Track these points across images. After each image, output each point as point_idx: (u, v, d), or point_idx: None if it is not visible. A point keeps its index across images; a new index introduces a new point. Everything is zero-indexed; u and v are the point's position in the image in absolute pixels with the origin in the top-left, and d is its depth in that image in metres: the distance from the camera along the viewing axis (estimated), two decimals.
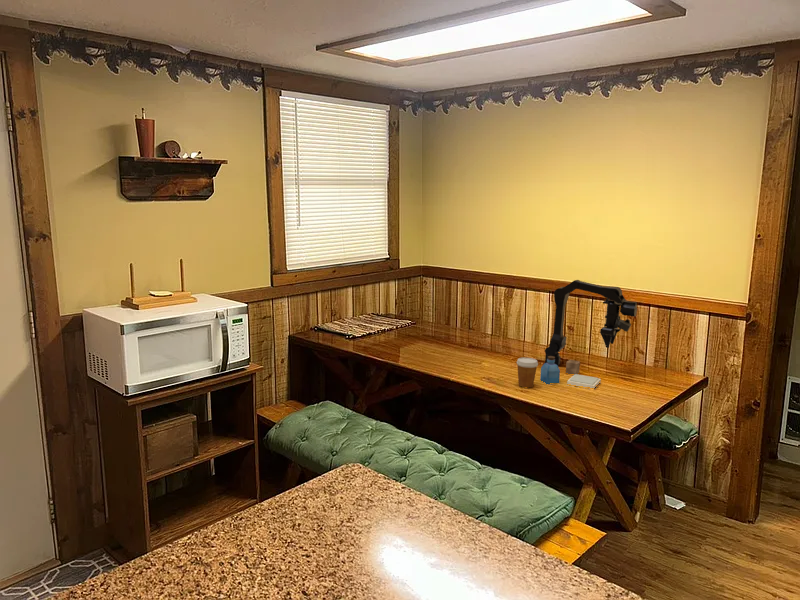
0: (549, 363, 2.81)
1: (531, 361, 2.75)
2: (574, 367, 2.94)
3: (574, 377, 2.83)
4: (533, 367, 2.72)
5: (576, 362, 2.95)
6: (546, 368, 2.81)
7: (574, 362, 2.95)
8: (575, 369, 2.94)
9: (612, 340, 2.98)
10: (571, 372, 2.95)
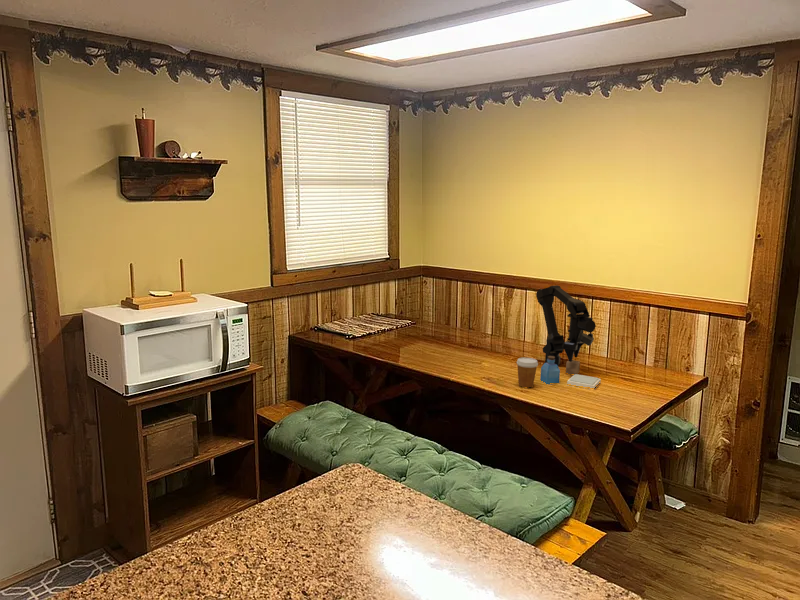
0: (549, 363, 2.81)
1: (531, 361, 2.75)
2: (574, 367, 2.94)
3: (574, 377, 2.83)
4: (533, 367, 2.72)
5: (576, 362, 2.95)
6: (546, 368, 2.81)
7: (574, 362, 2.95)
8: (575, 369, 2.94)
9: (576, 354, 3.00)
10: (571, 372, 2.95)
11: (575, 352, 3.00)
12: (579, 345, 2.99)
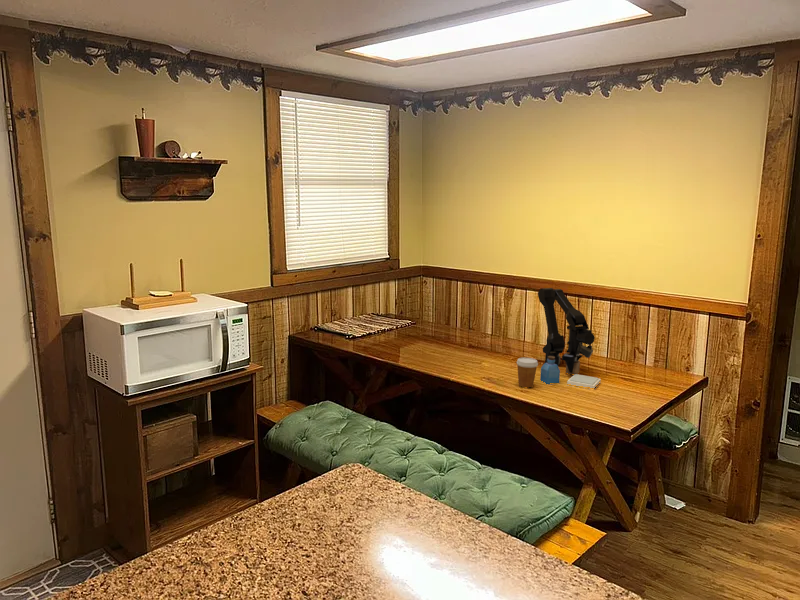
0: (549, 363, 2.81)
1: (531, 361, 2.75)
2: (574, 367, 2.94)
3: (574, 377, 2.83)
4: (533, 367, 2.72)
5: (576, 362, 2.95)
6: (546, 368, 2.81)
7: None
8: (575, 369, 2.94)
9: None
10: None
11: None
12: (577, 358, 2.98)
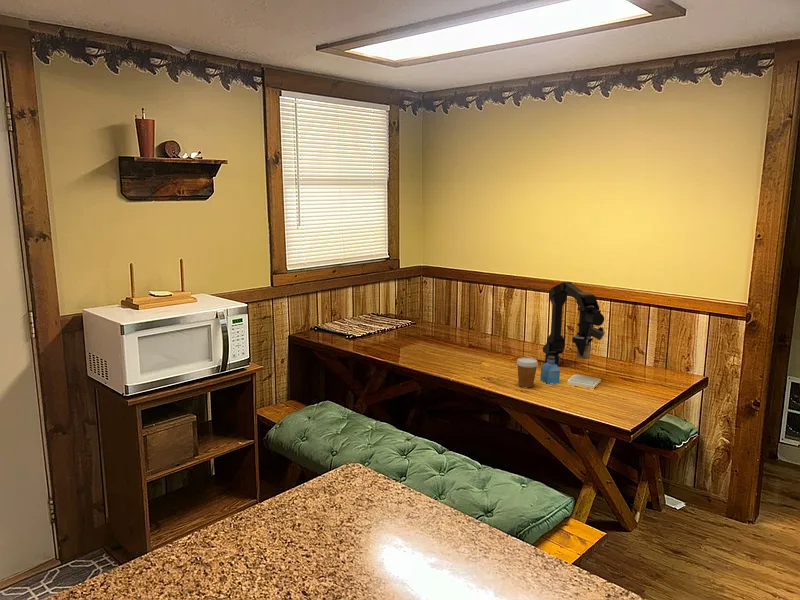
0: (549, 363, 2.81)
1: (531, 361, 2.75)
2: (585, 350, 2.80)
3: (574, 377, 2.83)
4: (533, 367, 2.72)
5: (587, 345, 2.82)
6: (546, 368, 2.81)
7: None
8: (586, 352, 2.80)
9: None
10: None
11: None
12: (588, 341, 2.85)
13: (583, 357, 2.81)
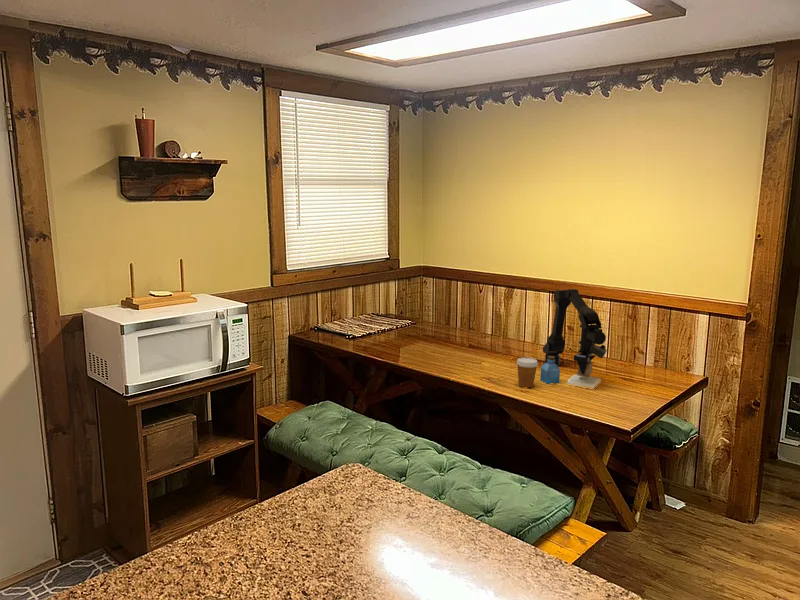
0: (549, 363, 2.81)
1: (531, 361, 2.75)
2: (587, 368, 2.78)
3: (574, 377, 2.83)
4: (533, 367, 2.72)
5: (589, 362, 2.79)
6: (546, 368, 2.81)
7: None
8: (588, 370, 2.77)
9: None
10: None
11: None
12: (589, 358, 2.82)
13: (584, 375, 2.79)
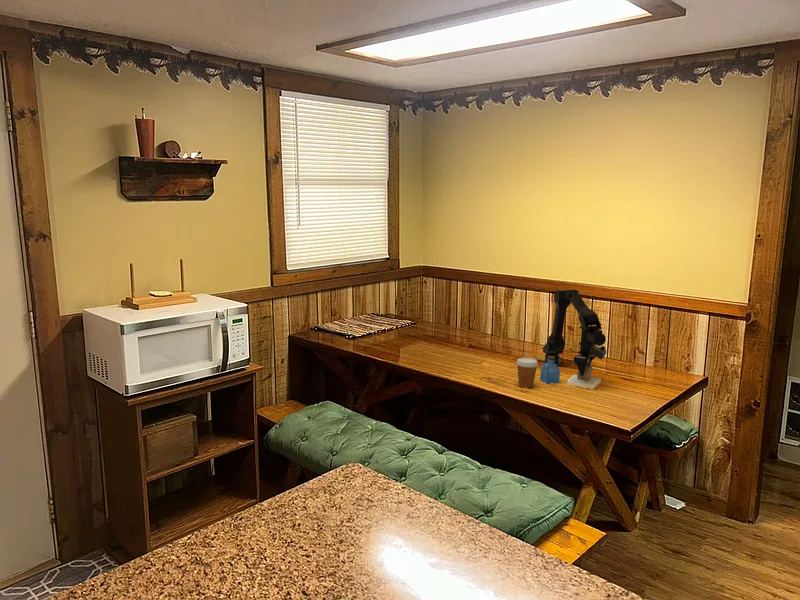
0: (549, 363, 2.81)
1: (531, 361, 2.75)
2: (586, 372, 2.78)
3: (574, 377, 2.83)
4: (533, 367, 2.72)
5: (588, 366, 2.79)
6: (546, 368, 2.81)
7: (586, 366, 2.79)
8: (587, 374, 2.78)
9: None
10: (583, 377, 2.79)
11: None
12: (590, 359, 2.83)
13: (584, 379, 2.79)
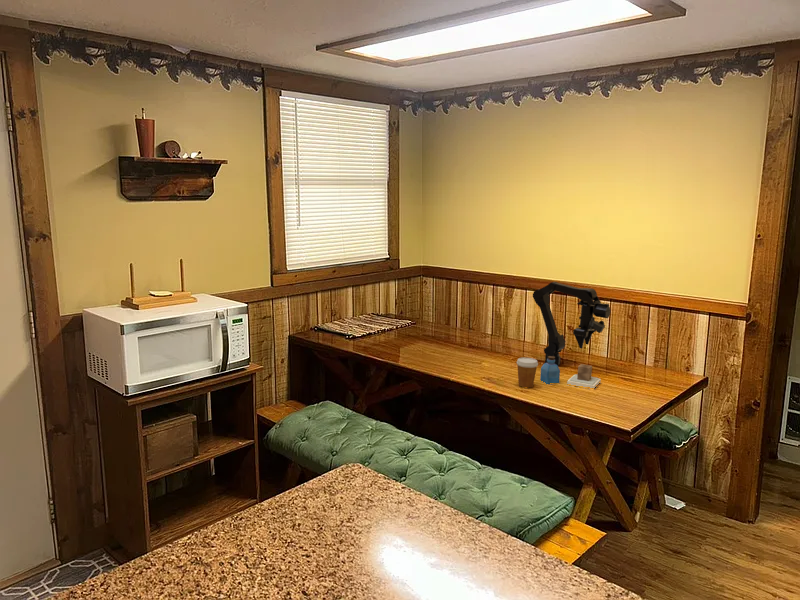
0: (549, 363, 2.81)
1: (531, 361, 2.75)
2: (586, 372, 2.78)
3: (574, 377, 2.83)
4: (533, 367, 2.72)
5: (588, 366, 2.79)
6: (546, 368, 2.81)
7: (586, 366, 2.79)
8: (587, 374, 2.78)
9: (587, 341, 3.02)
10: (583, 377, 2.79)
11: (586, 339, 3.03)
12: (590, 332, 3.01)
13: (584, 379, 2.79)
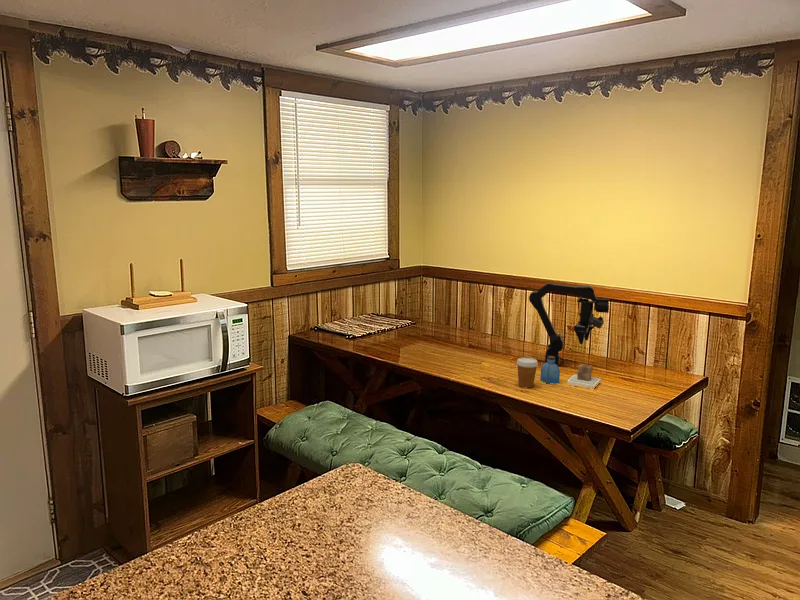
0: (549, 363, 2.81)
1: (531, 361, 2.75)
2: (586, 372, 2.78)
3: (574, 377, 2.83)
4: (533, 367, 2.72)
5: (588, 366, 2.79)
6: (546, 368, 2.81)
7: (586, 366, 2.79)
8: (587, 374, 2.78)
9: (586, 337, 3.09)
10: (583, 377, 2.79)
11: (585, 335, 3.09)
12: (589, 328, 3.08)
13: (584, 379, 2.79)
